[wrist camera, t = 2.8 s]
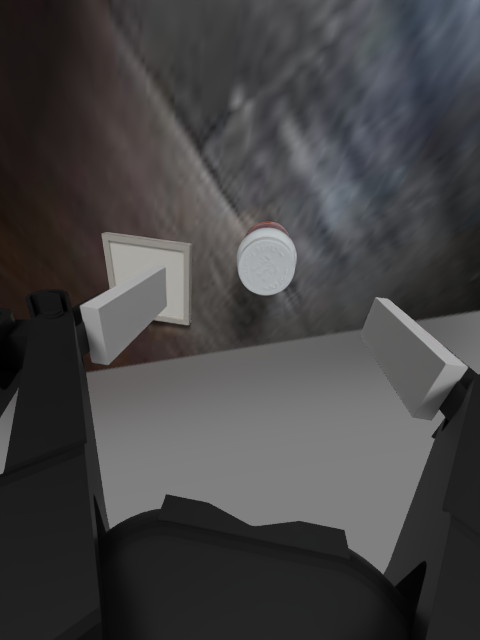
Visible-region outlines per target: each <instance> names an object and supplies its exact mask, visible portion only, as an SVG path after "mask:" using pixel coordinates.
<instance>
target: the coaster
mask: <svg viewBox="0 0 480 640" xmlns="http://www.w3.org/2000/svg"><path fill="white" fill-rule="evenodd" d="M102 240H103V247H104V253H105V260H106V266H107V273H108V279H109V286H110V289H111V288H113V287H115V286H117V285H119V284H121V283H122V282H124V281H126V280H128V279H130V278H131V277H133V276H135V275H137V274H139V273H141V272H142V271H144V270H146V269H148V268H150V267H151V266H153V265H157V266H164V267H166V293H167V307H166V308H165V309H164V310H163V311H162V312H161V313H160V314H159V315H158V316H157V317H156V318H155V319H154V320H157V321H163V322H170V323H176V324H183V325H189V324H190V323H191V302H192V244H190V243H183V242H175V241H168V240H161V239H154V238H146V237H139V236H132V235H124V234H117V233H110V232H106V233H102Z"/></svg>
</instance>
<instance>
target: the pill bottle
mask: <svg viewBox="0 0 480 640" xmlns="http://www.w3.org/2000/svg"><path fill="white" fill-rule="evenodd" d="M236 261H237V267H238V273H239V277H240V279H241V281H242V283H243V284H244V286H245V287H246V288H247V289H248V290H250V291H251V292H253V293H256V294H259V295H273V294H276V293H279V292H281V291H282V290H284V289H285V288H286V287H287V286H288V285H289V283H290V282H291V280H292V278H293V276H294V271H295V266H296V261H297V254H296V249H295V246H294V244H293V242H292V240H291V238H290V236H289V234H288V232H287V231H286V230H285V229H284V228H283V227H282V226H281V225H279V224H277V223H275V222H261V223H258V224H256V225H255V226H253V227H252V228H251V229H250V230H249V231H248V233H247V234H246V236H245V237H244V239H243V241H242V242H241V244H240V246H239V248H238V251H237V258H236Z"/></svg>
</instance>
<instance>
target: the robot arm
mask: <svg viewBox="0 0 480 640" xmlns="http://www.w3.org/2000/svg"><path fill="white" fill-rule="evenodd" d="M25 299H26V302H27V305H28V309H29V312H30V315H31V320H15V319H14V316H13V314H12V311H11V310H10V309H6V308H0V417H1V415H2V414H3V412H4V411H5V409H6V407H7V406H8V404H9V402H10V401H11V399H12V397H13V396H14V394H15V393H16V391H17V389H18V388H19V390H18V397H17V402H16V407H15V413H14V419H13V424H12V430H11V435H10V441H9V447H8V453H7V458H6V464H5V469H4V472H3V474H0V640H480V374H479V375H478V374H477V373H475V372H474V371H473V370H472V369H471V368H470V367H468V366H467V365H466V364H465V363H464V362H463V361H461V360H459V358H458V357H457V356H456V355H454V354H453V353H452V352H451V351H450V350H449V349H447V348H446V347H445V346H443V345H441V344H440V343H439V342H438V341H437V340H436V339H435V338H433V337H432V336H431V335H430V334H429V333H427V332H426V331H425V330H424V329H423V328H422V327H420V326H419V325H418V324H417V323H416V322H415V321H413V320H412V319H411V318H410V317H409V316H408V315H406V314H405V313H404V312H403V311H402V310H401V309H399V308H398V307H397V306H396V305H395V304H394V303H392V302H391V301H390V300H389V299H384V298H377V297H375V300H374V302H373V305H372V307H371V310H370V312H369V315H368V317H367V320H366V322H365V325H364V327H363V330H362V332H361V335H360V337H361V338H362V340H363V341H364V343H365V345H366V346H367V348H368V349H369V351H370V352H371V354H372V355H373V357H374V358H375V360H376V361H377V363H378V365H379V366H380V368H381V369H382V371H383V372H384V374H385V376H386V377H387V379H388V380H389V382H390V383H391V385H392V386H393V388H394V389H395V391H396V393H397V394H398V396H399V397H400V399H401V400H402V402H403V403H404V405H405V406H406V408H407V410H408V411H409V413H410V414H411V416H412V417H414V418H420V419H426V420H432V419H433V418H434V416H435V415H436V413H437V412H438V410H440V411H441V412H442V413H443V414H444V416H445V419H444V420H443V421H442V423H441V424H440V426H439V427H438V429H437V430H436V431H435V432H434V434H433V435H432V437H433V438H435V441H434V443H433V446H432V449H431V451H430V454H429V457H428V459H427V462H426V465H425V468H424V470H423V473H422V476H421V479H420V481H419V484H418V486H417V489H416V492H415V495H414V498H413V500H412V503H411V506H410V508H409V511H408V514H407V517H406V519H405V522H404V524H403V528H402V530H401V533H400V535H399V538H398V541H397V543H396V546H395V549H394V552H393V554H392V557H391V560H390V562H389V565H388V567H387V569H386V571H385V573H384V574H382V573H381V572H380V571H379V570H378V569H376V568H375V567H374V566H373V565H372V564H370V563H369V562H368V561H367V560H365V559H364V558H363V557H361V556H360V555H358V554H357V553H355V552H354V551H352V550H351V549H349V548H348V545H347V540H346V536H345V531H344V530H341V529H336V528H331V527H326V526H322V525H317V524H311V523H307V522H302V521H296V522H287V523H279V524H272V525H263V526H251V525H248V524H246V523H245V522H243V521H241V520H239V519H237V518H235V517H234V516H232V515H230V514H228V513H226V512H224V511H223V510H221V509H219V508H217V507H215V506H213V505H212V504H210V503H207V502H202V501H196V500H192V499H186V498H182V497H177V496H172V495H167V494H166V496H165V499H164V502H163V505H162V507H161V509H155V510H151V511H147V512H143V513H140V514H138V515H135V516H133V517H130V518H128V519H126V520H125V521H123V522H121V523H119V524H117V525H116V526H115V527H113V528H112V529H109V523H108V518H107V514H106V508H105V502H104V495H103V488H102V481H101V474H100V467H99V460H98V454H97V446H96V439H95V432H94V425H93V418H92V412H91V405H90V398H89V391H88V384H87V377H86V370H85V363H84V359H83V356H84V355H85V354H87V353H88V352H89V351H90V356H91V360H92V362H93V363H99V364H105V365H109V364H110V363H111V362H112V361H113V360H114V359H115V358H116V357H117V356H118V355H119V354H120V353H121V352H122V351H123V350H124V349H125V348H126V347H127V346H128V345H129V344H130V343H131V342H132V341H133V340H134V339H135V338H136V337H137V336H138V335H139V334H140V333H141V332H142V331H143V330H144V329H145V328H146V327H147V326H148V325H149V324H150V323H151V322H152V321H153V320H154V319H155V318H156V317H157V316H158V315H159V314H160V313H161V312H162V311H163V310H164V309H165V308H166V307H167V293H166V267H164V266H157V265H153V266H151V267H150V268H148V269H146V270H144V271H142V272H141V273H139V274H137V275H135V276H133V277H131V278H130V279H128V280H126V281H124V282H122V283H121V284H119V285H117V286H115V287H113V288H111V289H110V290H108V291H106V292H103V293H100V294H97V295H95V296H93V297H91V299H88V300H86V301H85V302H82V303H80V304H79V305H77V306H75V307H73V308H72V307H71V303H70V299H69V295H68V293H67V292H66V291H63V290H56V289H55V290H42V291H37V292H33V293H31V294H29V295H27V296H26V297H25Z"/></svg>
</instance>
